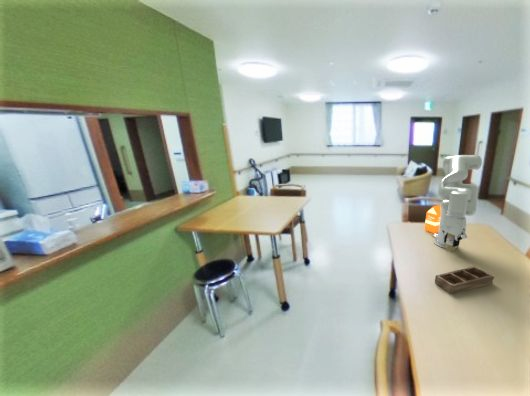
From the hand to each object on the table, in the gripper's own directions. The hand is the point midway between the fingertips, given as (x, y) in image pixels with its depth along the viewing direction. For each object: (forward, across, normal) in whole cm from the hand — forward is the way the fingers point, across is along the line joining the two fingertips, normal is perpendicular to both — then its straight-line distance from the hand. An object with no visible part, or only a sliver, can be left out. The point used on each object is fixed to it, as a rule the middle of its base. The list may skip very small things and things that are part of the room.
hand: (451, 243), depth 128 cm
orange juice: (+16, -39, +33) cm, 54 cm away
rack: (+14, +15, -8) cm, 21 cm away
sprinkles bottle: (+4, 0, 0) cm, 4 cm away
